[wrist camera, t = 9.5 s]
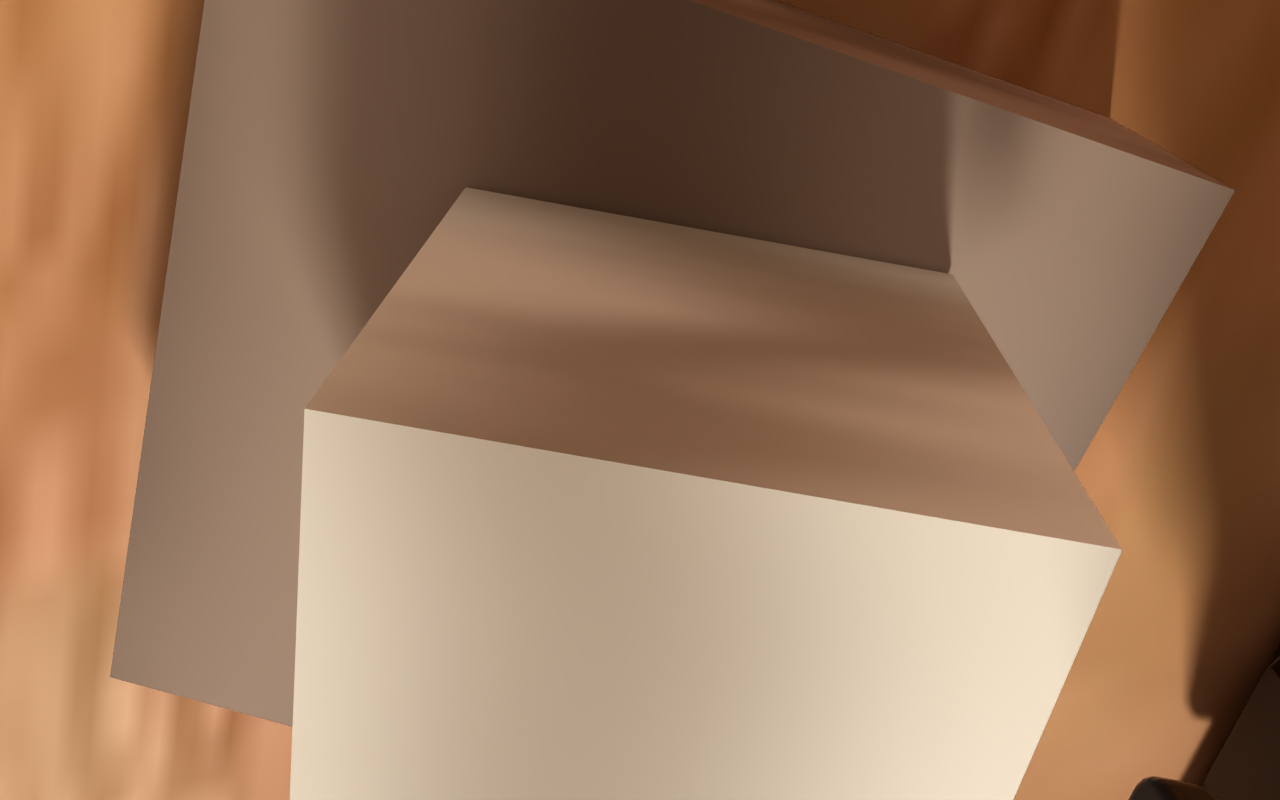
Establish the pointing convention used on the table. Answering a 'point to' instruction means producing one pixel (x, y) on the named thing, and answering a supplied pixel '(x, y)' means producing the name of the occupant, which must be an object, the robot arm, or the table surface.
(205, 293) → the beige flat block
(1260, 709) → the robot arm
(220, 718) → the table surface
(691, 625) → the maple cube
